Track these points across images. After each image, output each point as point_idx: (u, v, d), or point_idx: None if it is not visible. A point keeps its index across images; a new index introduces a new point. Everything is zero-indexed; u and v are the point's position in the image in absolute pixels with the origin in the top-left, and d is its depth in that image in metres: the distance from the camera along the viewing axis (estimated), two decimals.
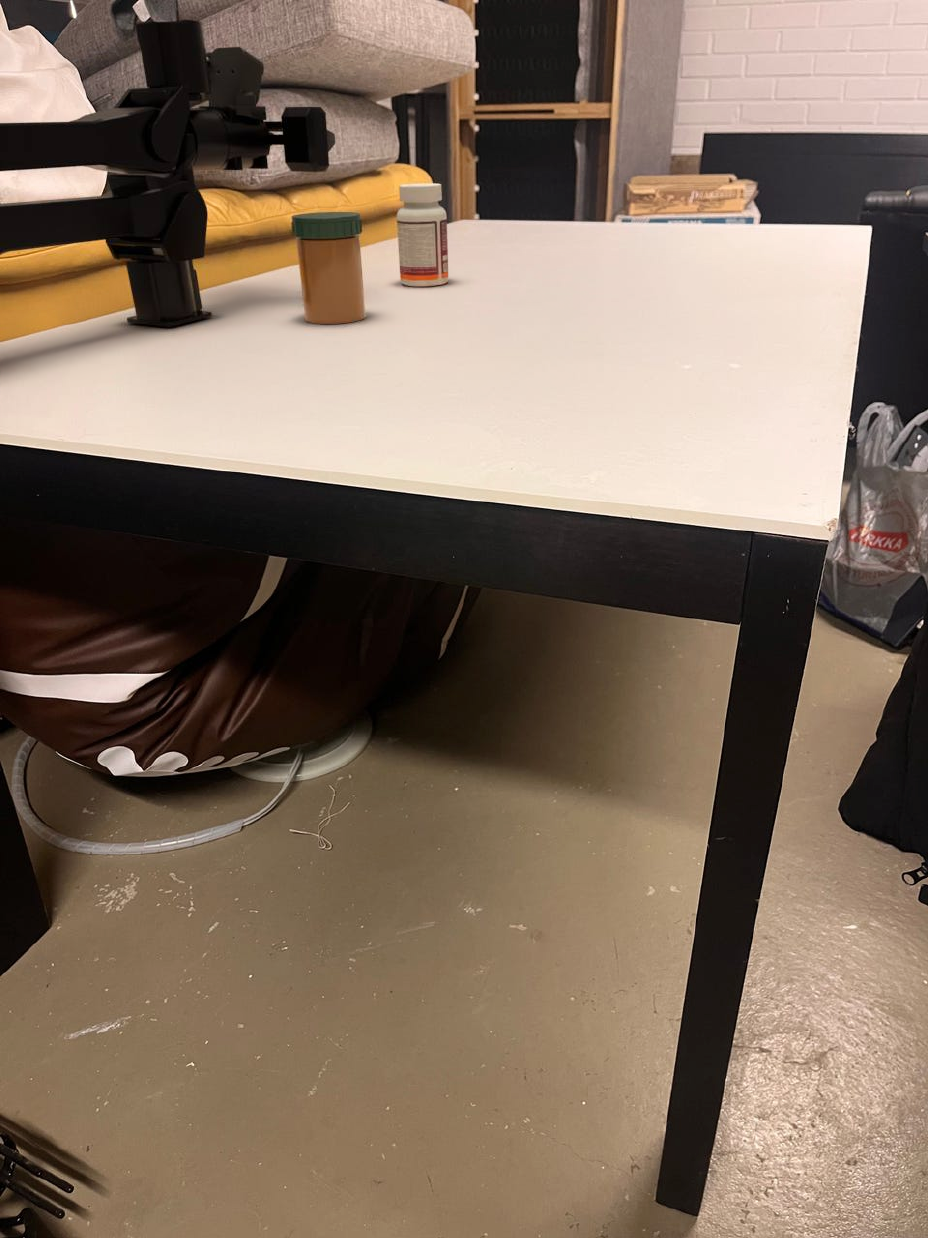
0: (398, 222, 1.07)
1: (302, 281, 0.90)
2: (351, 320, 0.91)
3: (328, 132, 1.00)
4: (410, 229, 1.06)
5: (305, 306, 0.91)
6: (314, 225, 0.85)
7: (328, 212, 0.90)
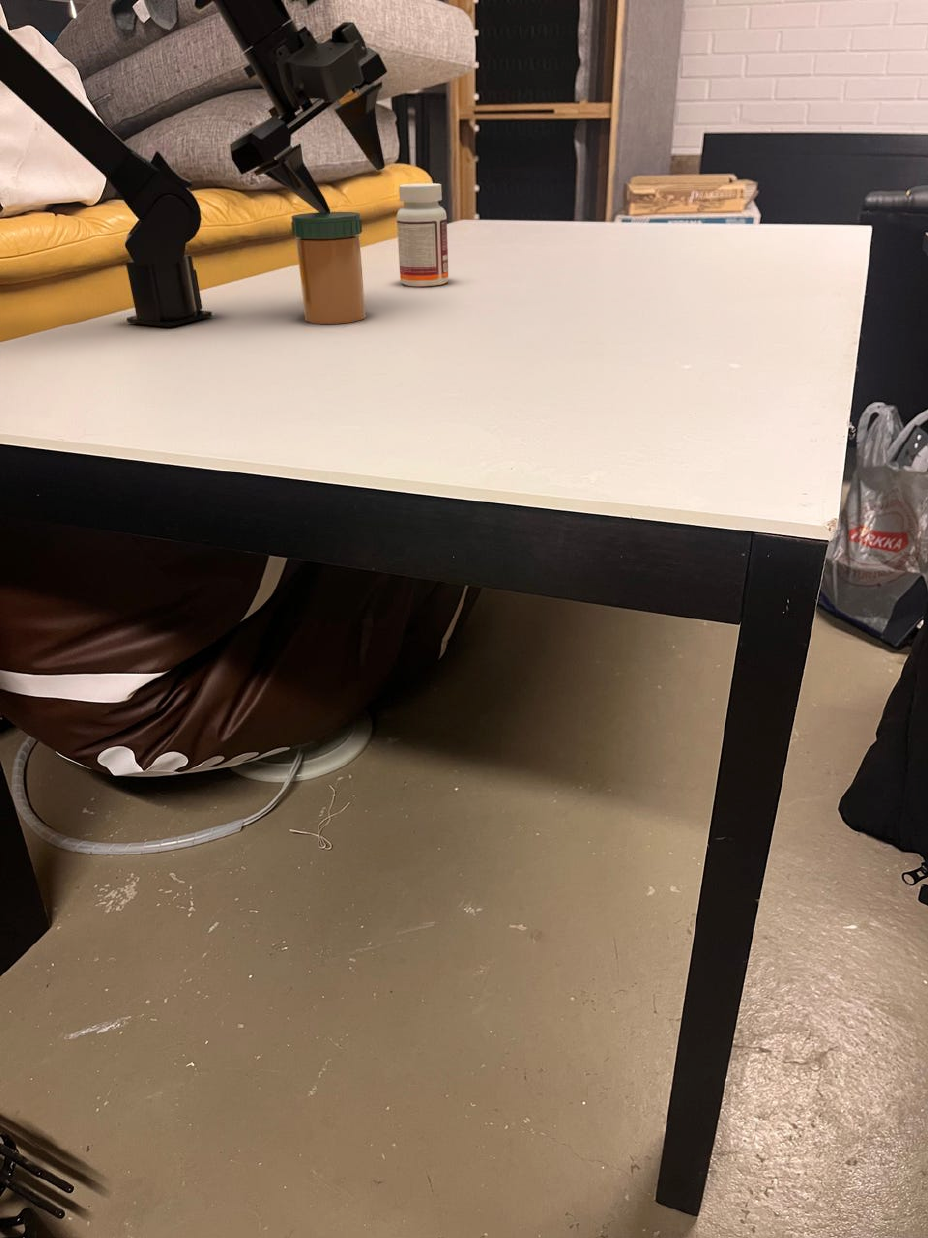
0: (398, 222, 1.07)
1: (302, 281, 0.90)
2: (351, 320, 0.91)
3: (314, 198, 0.90)
4: (410, 229, 1.06)
5: (305, 306, 0.91)
6: (314, 225, 0.85)
7: (328, 212, 0.90)
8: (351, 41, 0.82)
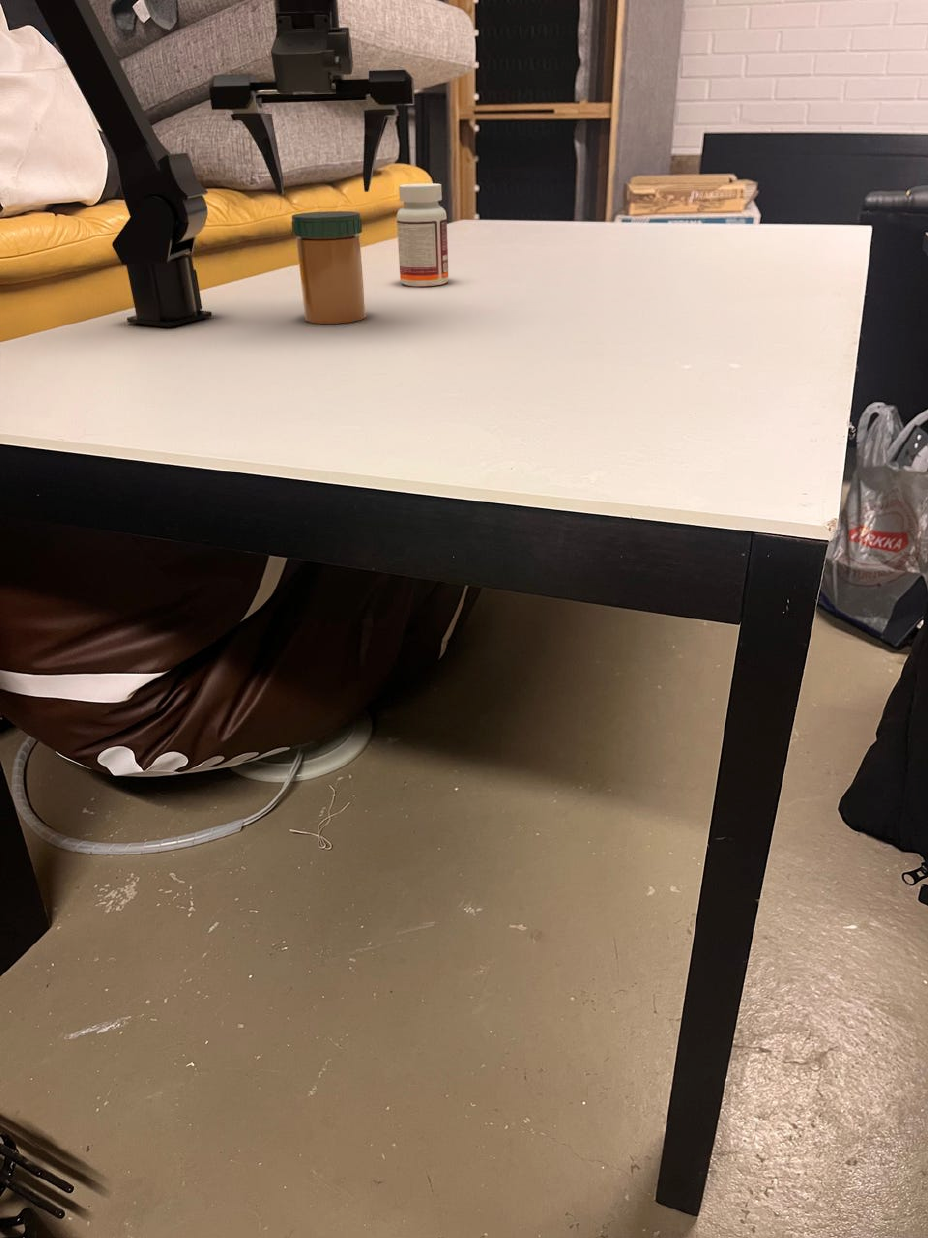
0: (398, 222, 1.07)
1: (302, 281, 0.90)
2: (351, 320, 0.91)
3: None
4: (410, 229, 1.06)
5: (305, 306, 0.91)
6: (327, 224, 0.85)
7: (318, 212, 0.90)
8: (330, 48, 0.75)
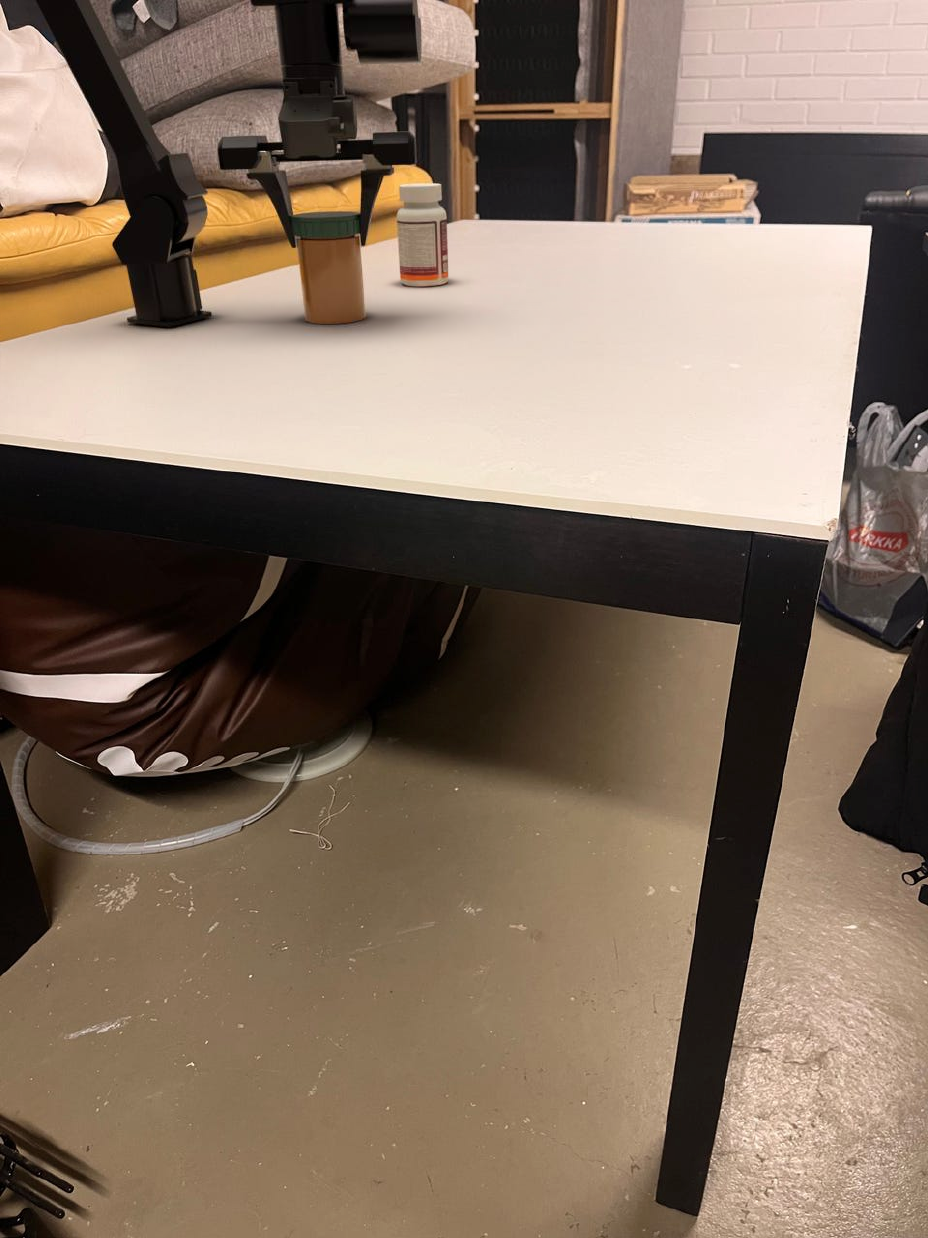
0: (398, 222, 1.07)
1: (302, 281, 0.90)
2: (351, 320, 0.91)
3: None
4: (410, 229, 1.06)
5: (305, 306, 0.91)
6: (327, 224, 0.85)
7: (318, 212, 0.90)
8: (336, 115, 0.77)
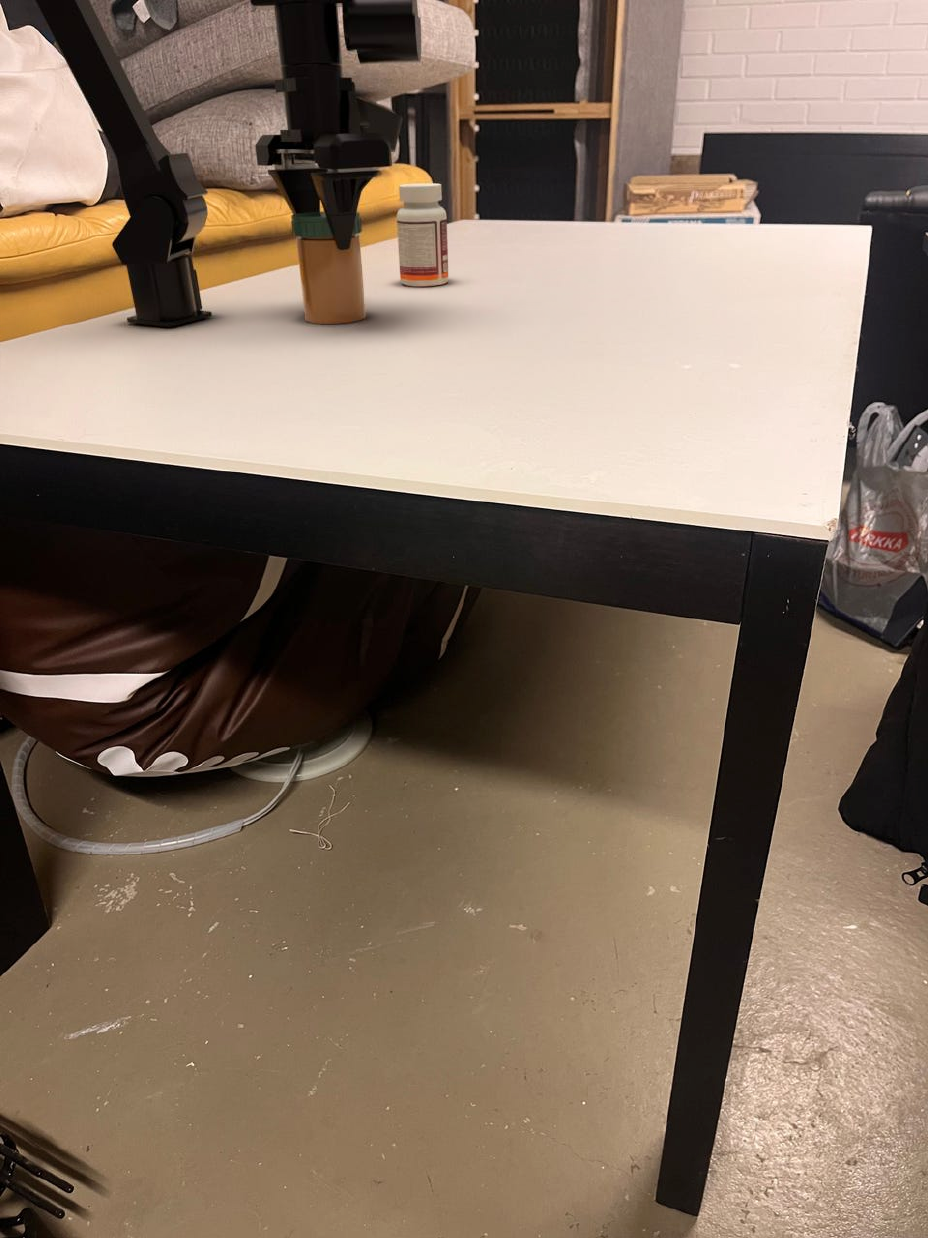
0: (398, 222, 1.07)
1: (302, 281, 0.90)
2: (351, 320, 0.91)
3: (351, 228, 0.86)
4: (410, 229, 1.06)
5: (305, 306, 0.91)
6: None
7: (306, 216, 0.86)
8: None
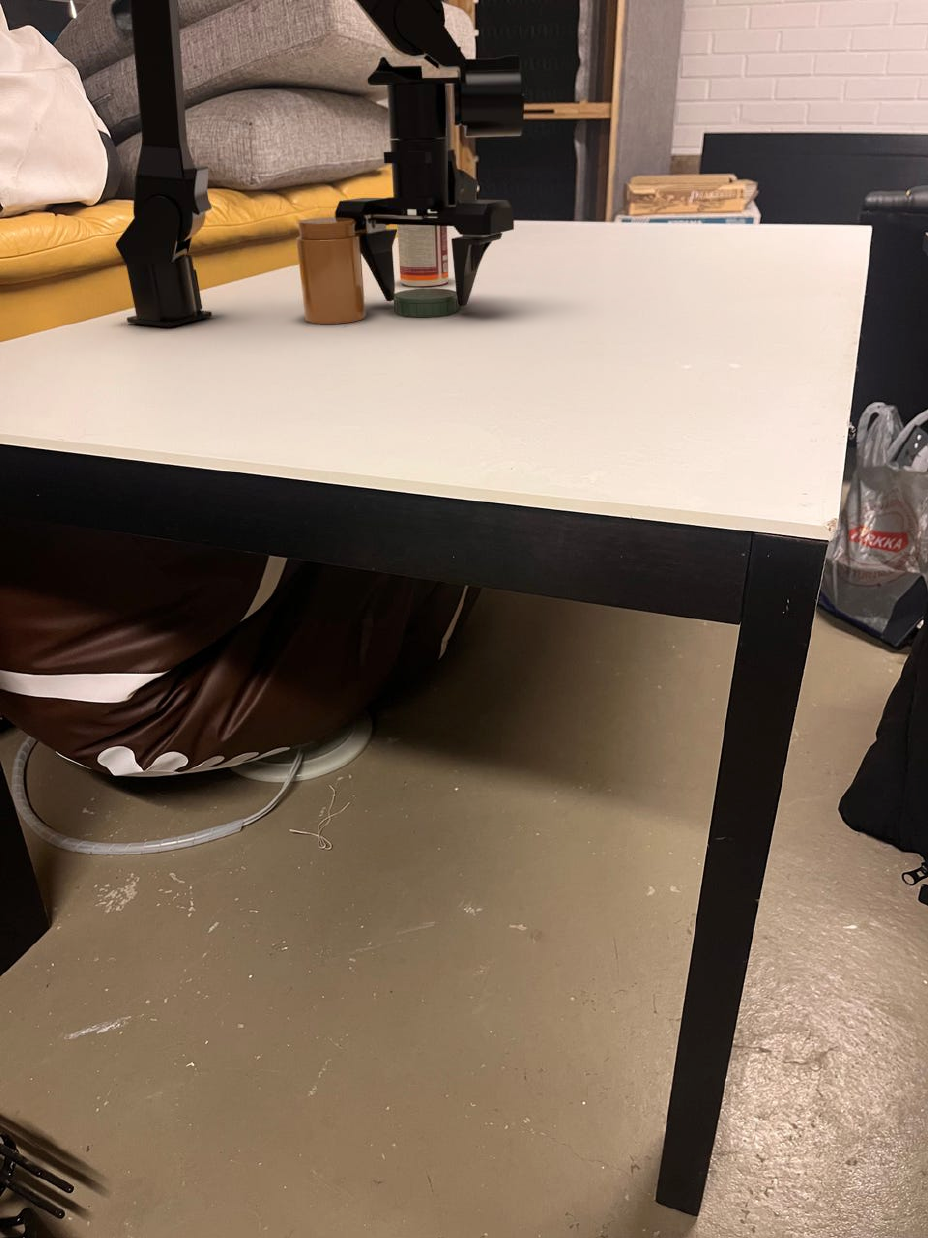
0: None
1: (302, 281, 0.90)
2: (351, 320, 0.91)
3: (471, 286, 0.92)
4: (410, 229, 1.06)
5: (305, 306, 0.91)
6: None
7: (421, 298, 0.92)
8: None
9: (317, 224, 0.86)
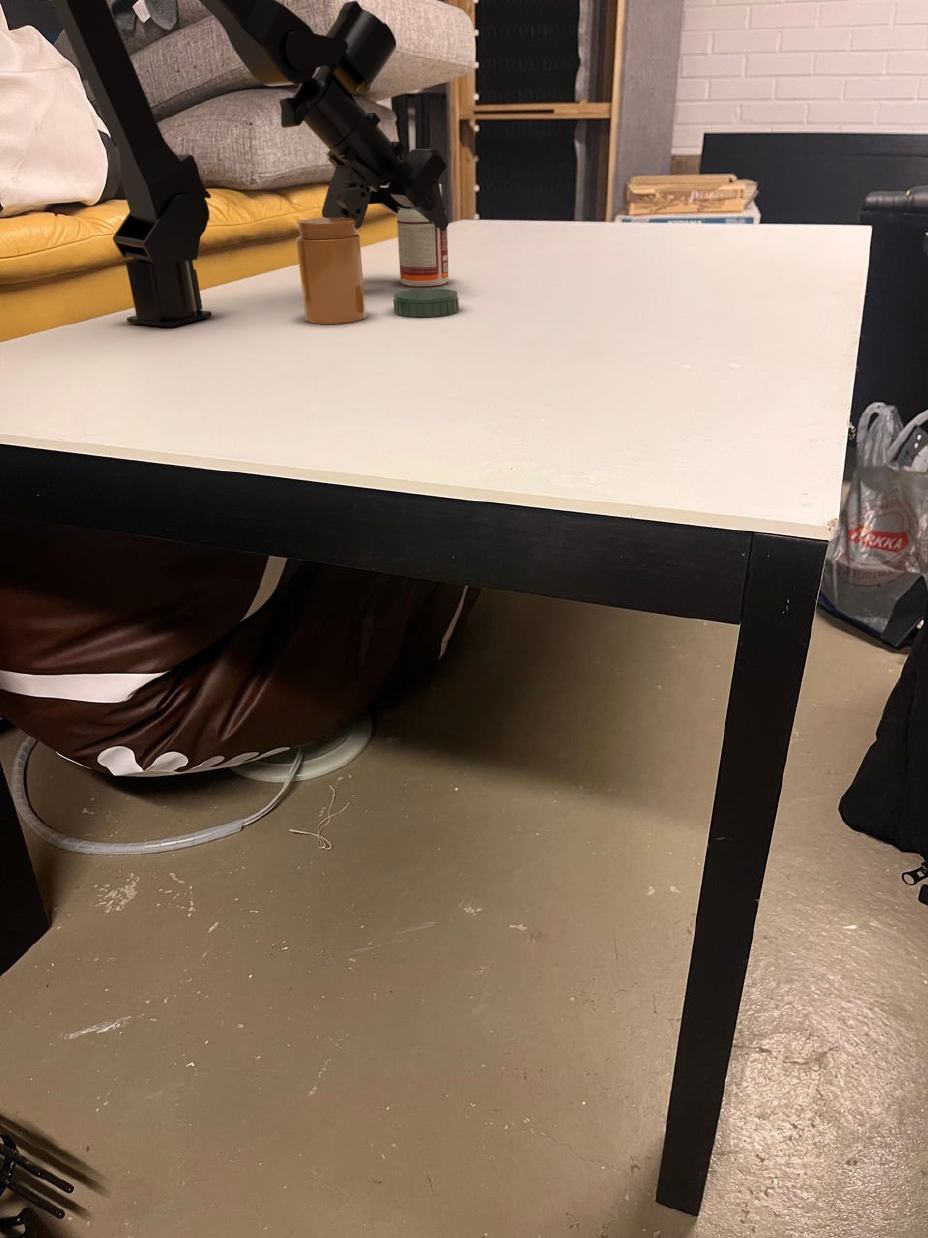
0: (398, 222, 1.07)
1: (302, 281, 0.90)
2: (351, 320, 0.91)
3: None
4: (410, 229, 1.06)
5: (305, 306, 0.91)
6: None
7: (421, 298, 0.92)
8: (343, 209, 0.99)
9: (317, 224, 0.86)
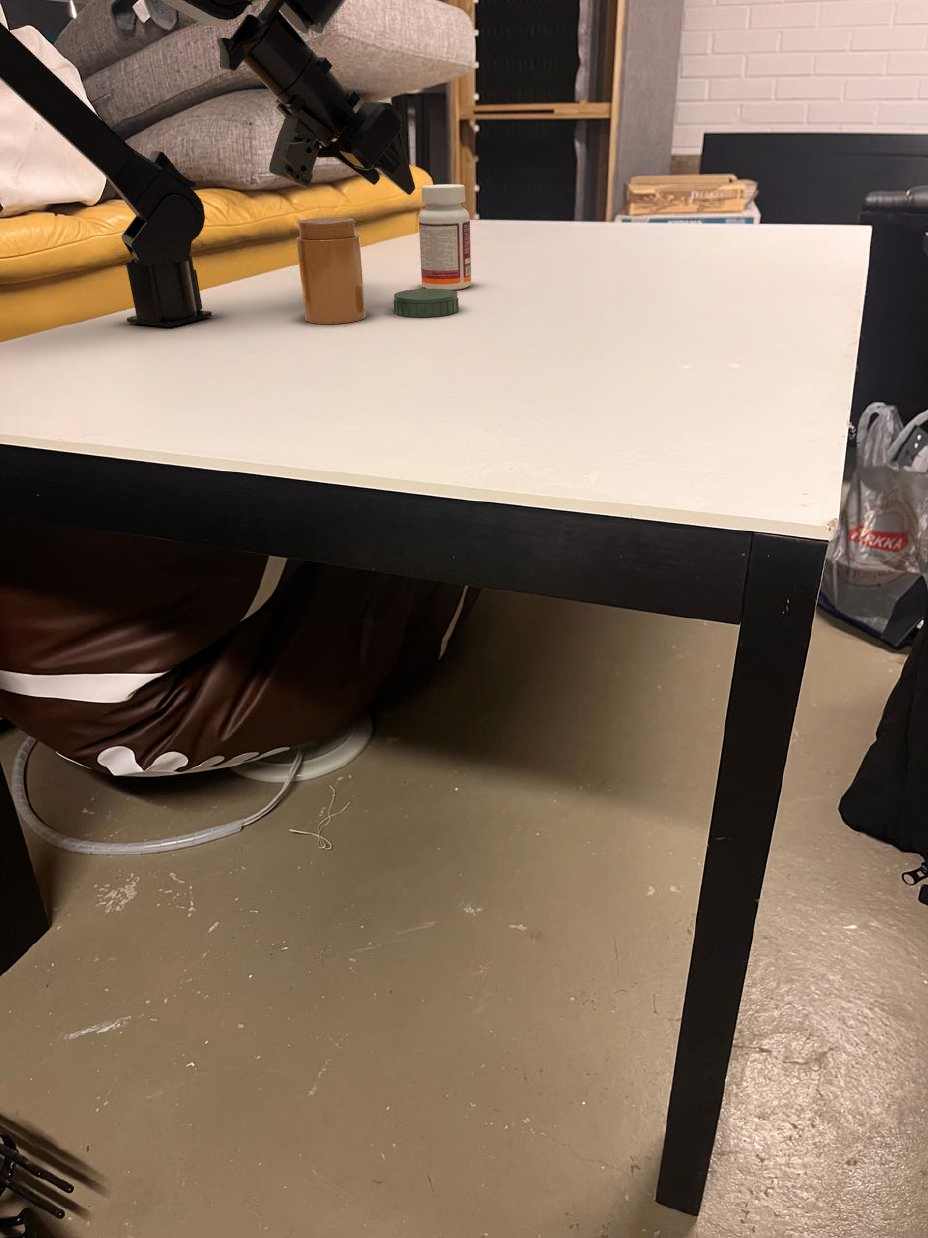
0: (420, 224, 1.04)
1: (302, 281, 0.90)
2: (351, 320, 0.91)
3: None
4: (432, 231, 1.03)
5: (305, 306, 0.91)
6: None
7: (421, 298, 0.92)
8: (287, 165, 0.90)
9: (317, 224, 0.86)
